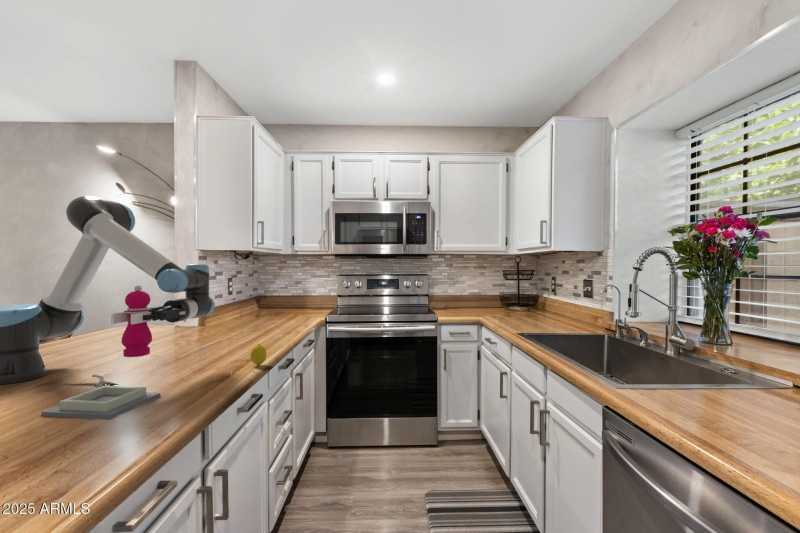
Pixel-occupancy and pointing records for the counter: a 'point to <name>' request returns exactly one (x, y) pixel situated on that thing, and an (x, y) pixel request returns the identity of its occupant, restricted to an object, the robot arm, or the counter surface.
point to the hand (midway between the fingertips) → (122, 319)
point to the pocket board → (102, 402)
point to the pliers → (100, 384)
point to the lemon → (258, 354)
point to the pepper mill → (137, 325)
